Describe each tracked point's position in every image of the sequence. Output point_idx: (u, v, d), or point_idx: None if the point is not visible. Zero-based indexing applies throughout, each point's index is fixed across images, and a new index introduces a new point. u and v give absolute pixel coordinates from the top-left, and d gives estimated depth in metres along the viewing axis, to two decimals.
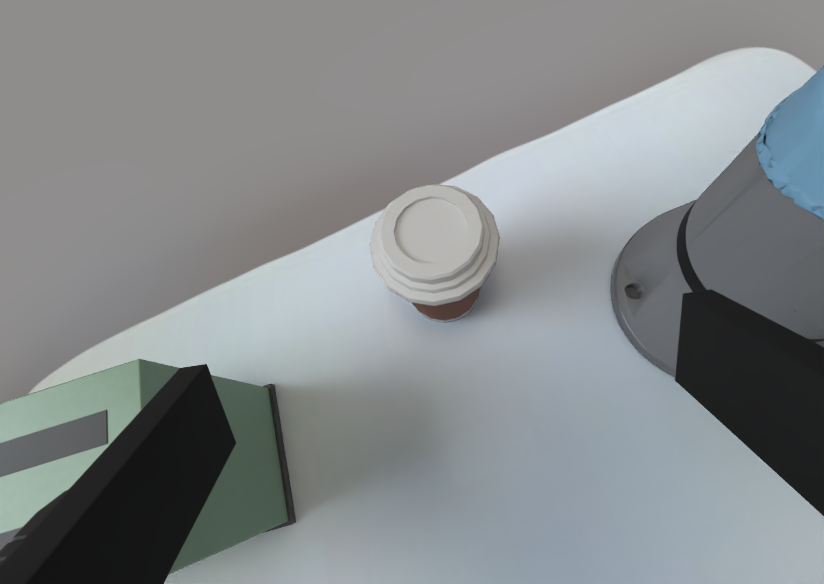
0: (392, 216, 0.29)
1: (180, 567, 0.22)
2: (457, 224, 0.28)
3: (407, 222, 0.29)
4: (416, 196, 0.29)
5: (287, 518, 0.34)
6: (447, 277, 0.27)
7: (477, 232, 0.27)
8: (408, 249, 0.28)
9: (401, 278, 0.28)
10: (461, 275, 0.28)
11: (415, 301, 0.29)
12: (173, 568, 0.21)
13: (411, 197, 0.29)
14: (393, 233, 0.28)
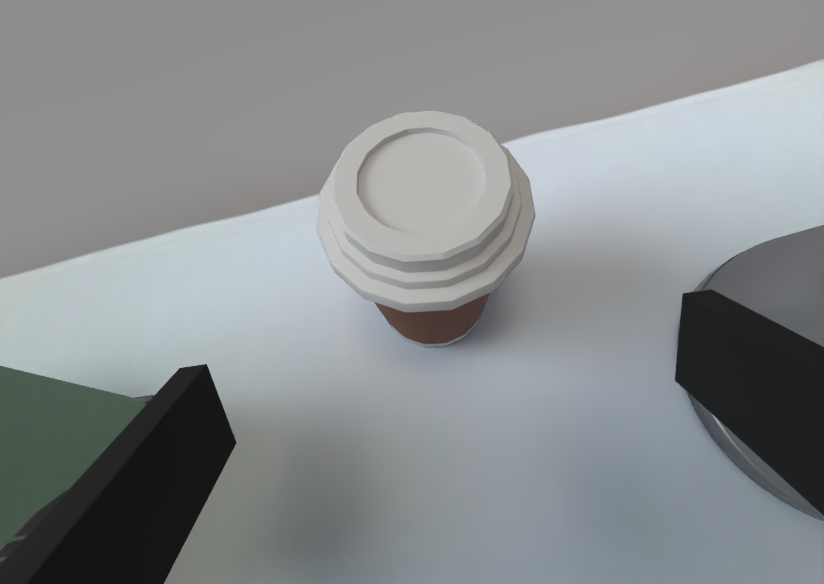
0: (360, 149, 0.17)
1: None
2: (468, 177, 0.16)
3: (384, 163, 0.17)
4: (407, 124, 0.17)
5: None
6: (435, 262, 0.15)
7: (501, 193, 0.15)
8: (376, 205, 0.16)
9: (356, 254, 0.16)
10: (460, 265, 0.15)
11: (374, 299, 0.16)
12: None
13: (398, 124, 0.17)
14: (356, 175, 0.16)
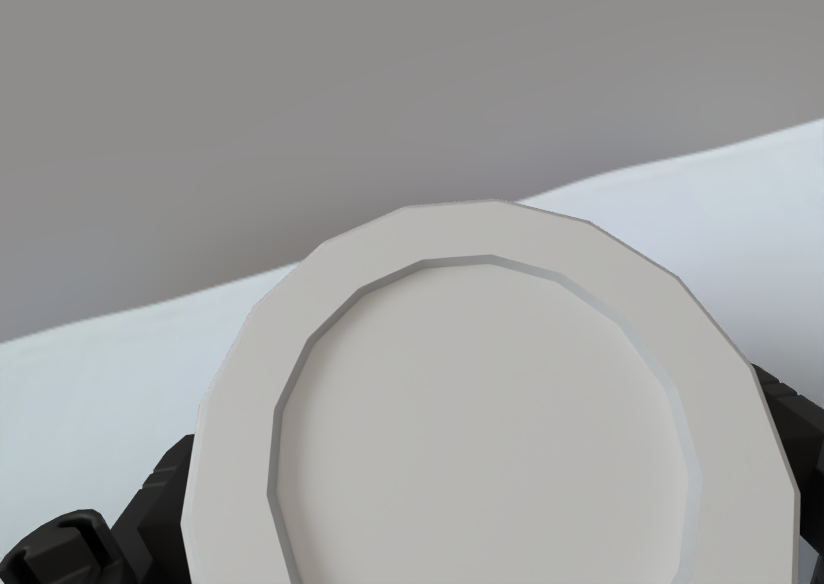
0: (289, 323, 0.06)
1: None
2: (623, 434, 0.05)
3: (359, 365, 0.06)
4: (424, 243, 0.06)
5: None
6: None
7: (769, 534, 0.04)
8: (331, 535, 0.05)
9: None
10: None
11: None
12: None
13: (400, 244, 0.06)
14: (271, 420, 0.05)
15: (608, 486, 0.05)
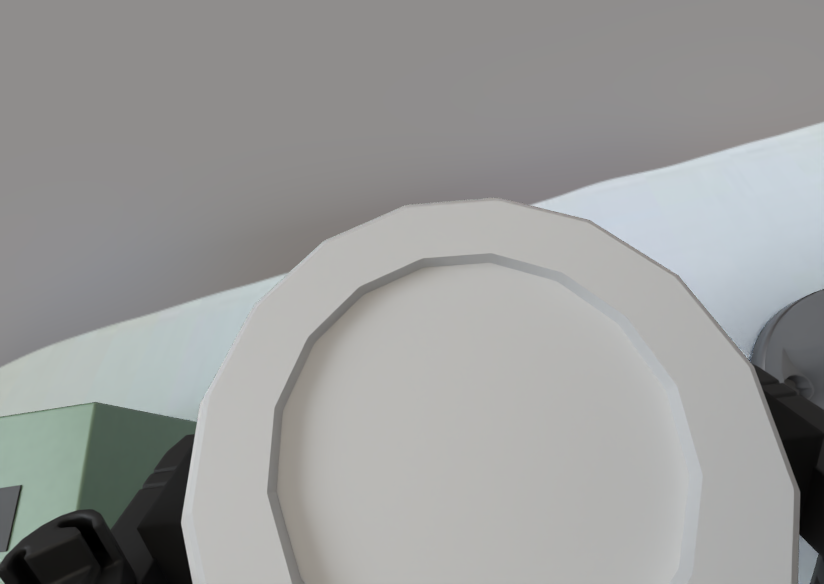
0: (290, 322, 0.06)
1: None
2: (623, 432, 0.05)
3: (359, 364, 0.06)
4: (424, 242, 0.06)
5: None
6: None
7: (769, 532, 0.04)
8: (332, 534, 0.05)
9: None
10: None
11: None
12: None
13: (400, 243, 0.06)
14: (272, 418, 0.05)
15: (608, 484, 0.05)
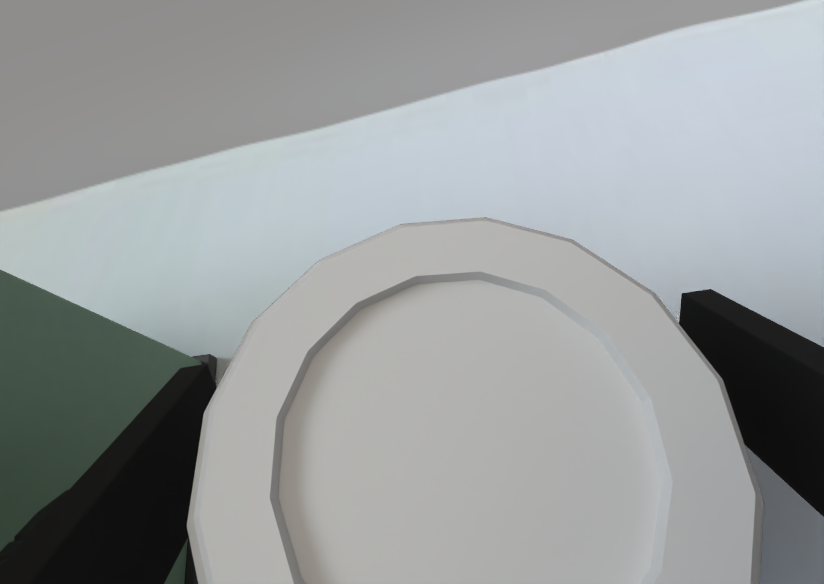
0: (291, 336, 0.06)
1: None
2: (601, 440, 0.05)
3: (356, 376, 0.06)
4: (417, 260, 0.06)
5: None
6: None
7: (731, 533, 0.05)
8: (330, 536, 0.05)
9: None
10: None
11: None
12: None
13: (394, 261, 0.06)
14: (274, 428, 0.06)
15: (587, 489, 0.05)
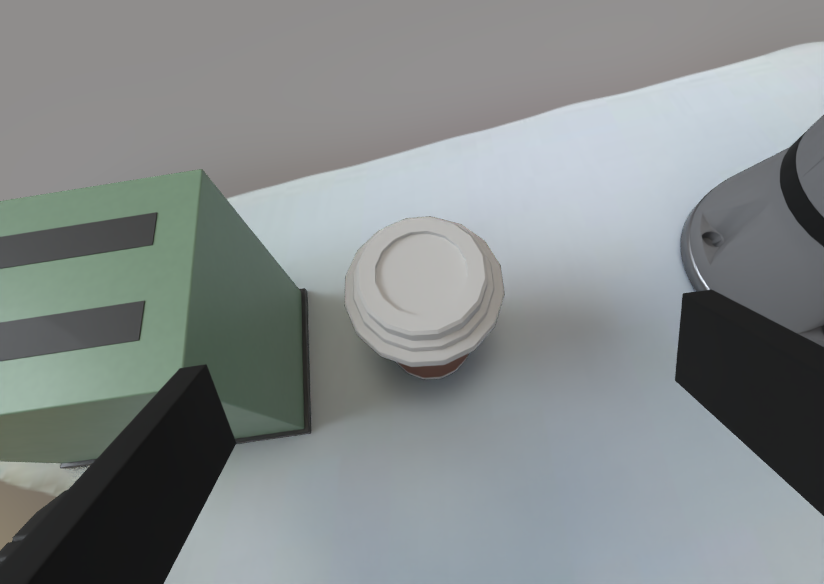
0: (377, 247, 0.23)
1: None
2: (455, 270, 0.22)
3: (394, 258, 0.23)
4: (410, 228, 0.23)
5: (303, 426, 0.31)
6: (432, 335, 0.21)
7: (478, 284, 0.22)
8: (389, 291, 0.22)
9: (375, 326, 0.22)
10: (450, 335, 0.22)
11: (388, 357, 0.23)
12: None
13: (404, 228, 0.23)
14: (374, 268, 0.23)
15: (450, 280, 0.22)
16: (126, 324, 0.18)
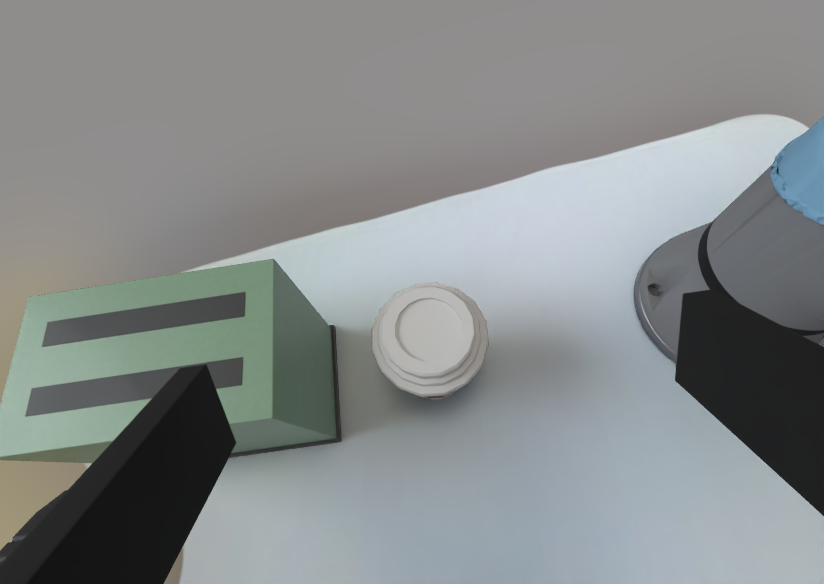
0: (396, 310, 0.32)
1: (285, 421, 0.27)
2: (452, 327, 0.31)
3: (408, 317, 0.32)
4: (420, 295, 0.32)
5: (335, 436, 0.39)
6: (436, 376, 0.30)
7: (469, 339, 0.30)
8: (405, 343, 0.31)
9: (395, 368, 0.31)
10: (449, 375, 0.30)
11: (404, 390, 0.31)
12: (283, 418, 0.27)
13: (415, 295, 0.32)
14: (394, 326, 0.31)
15: (449, 335, 0.31)
16: (231, 373, 0.27)
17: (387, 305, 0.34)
